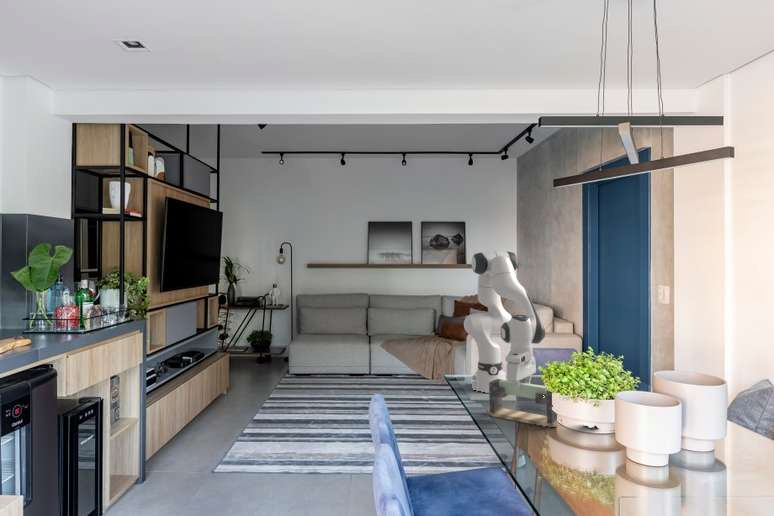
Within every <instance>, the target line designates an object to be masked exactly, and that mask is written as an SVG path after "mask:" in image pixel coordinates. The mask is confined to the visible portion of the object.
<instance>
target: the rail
mask: <svg viewBox="0 0 774 516" xmlns="http://www.w3.org/2000/svg"><path fill="white" fill-rule="evenodd" d="M519 386H520V389H521V390H520V391H515V386H514V384H513V382H511V381H509V380H508V379H506V380H501V381H499V387H503V388H504V394H508V396H515V397H522V398H527V399H528V398H529V399H533V400H536V399H535V393H542V394H546V391H547V390H549V388H548V389H547V385H540V384H533V383H530V384H528V383H525V382H521V381H519Z"/></svg>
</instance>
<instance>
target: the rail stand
mask: <svg viewBox="0 0 774 516" xmlns="http://www.w3.org/2000/svg"><path fill="white" fill-rule="evenodd" d="M501 380H502V379H496V380H493V381H491V382H489V393H488V395H489V396H488V397H489V410H488V411H487V416H489V415H490V417H496V418H500V419H504V420H505V419H506V420H511V421H514V422H521V423H525V424H531V425H535V424H536V425H535V426H540V425H542V426H541V427H545V426H549V427H548V428H550V427H555V426H556V425H557V414H556V413H555V412H554V411H553V410H552V407H553V405H552V392H550V391H548V390H549V389H548V390H547V391H546V394H542V393H535V399H534V400H535V404H538V405H545V406H546V415H543V414H542V415H541V414H535V413H532V412H527V411H520V410H515V409H510V408H504V407H503V398H506V397H508V396H509V395H508V394H504V388H503V387H499V381H501ZM543 395H544V396H545V398H543V397H544V396H543Z"/></svg>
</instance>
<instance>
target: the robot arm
mask: <svg viewBox="0 0 774 516" xmlns="http://www.w3.org/2000/svg"><path fill="white" fill-rule="evenodd" d="M518 263H519V262H518V257H517V255H516V254H515V253H514V252H512V251H499V250H497V251H486V252H477V253H474V255H473V256H472V258H471V263H470V264H471V268H472V271H473V272H474V273H475V274H476V275H477V274H478V278H477V300H478V302H479V303H480V304H481V305H482V306H485V307H487V310H488V311H487V312H478V313H476V312H475V313H473V314H469V315H466V316H465V318H464V320H463V327H464V330H465V332H466V333H467V334H468V335H470V337H472V338H473V339H474V341H475V343H476V346H477V353H478V362H477V369H476V371H475V373H474V375H473V374H472V376H471V377H472V382H473V383H472V387H471V389H472V388H473V389H474V390H477V391H476V392H478V391H481V392H480V393H483V392H485V393H486V394H489V382H491V381H493V380H496V379H502V380H507V381H511V382H513V384H514V386H515V391H520V390H521V389H520V386H519V382H520V381H522V380H524V379H525V381H524V383H528V384H531V381H532V375H534V374H536V372H537V363H536V357H535V356H534V353H533V351H534V350H533V348H534V347H533V344H535V345H539V344H540V343H541V342H542V341H543V340H544V339H545V337H546V329H545V326H544V324H543V322H542V321H541V319H540V316H539V315H538V313H537V310H536V308H535V305H534V303H533V300H532V298H531V295H530V293H529V292H528V290H527V288H526V287H524V286H523V285H521V284H520V282H519V280H518V279H517V275H516V270H517V269H518ZM502 298H504V299H507V300H510V301H513V302H516V303H517V304H519V305H520V306H521V308H522V310H523V313H524V315H523V314H515V315H511V313H509V312H508V311H507V310H506V309H505V308H504V306H503V304H502ZM490 335H500V338H501V339H502V340H503V342H505V343H507V344H510V350H509V352H508V354H507V355H506V356H505V362H506V372H505V371H504V370H503V362H502V352H501V350H502V349H501V345H499V343H497V342H496V341H493V340H491V337H490ZM506 378H507V379H506ZM485 393H484V394H485Z"/></svg>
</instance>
